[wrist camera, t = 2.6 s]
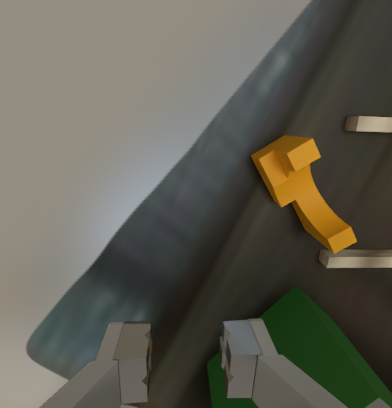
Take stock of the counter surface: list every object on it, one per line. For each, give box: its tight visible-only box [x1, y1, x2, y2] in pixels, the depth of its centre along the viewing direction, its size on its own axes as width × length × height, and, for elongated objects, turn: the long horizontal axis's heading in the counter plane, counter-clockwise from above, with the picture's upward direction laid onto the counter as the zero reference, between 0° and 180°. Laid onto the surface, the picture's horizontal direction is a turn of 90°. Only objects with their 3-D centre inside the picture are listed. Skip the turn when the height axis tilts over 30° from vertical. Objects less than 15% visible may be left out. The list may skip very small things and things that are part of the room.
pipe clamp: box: [251, 135, 357, 254], centre depth 28 cm, size 12×4×6 cm, turn 31°
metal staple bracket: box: [318, 116, 392, 268], centre depth 31 cm, size 14×18×2 cm
